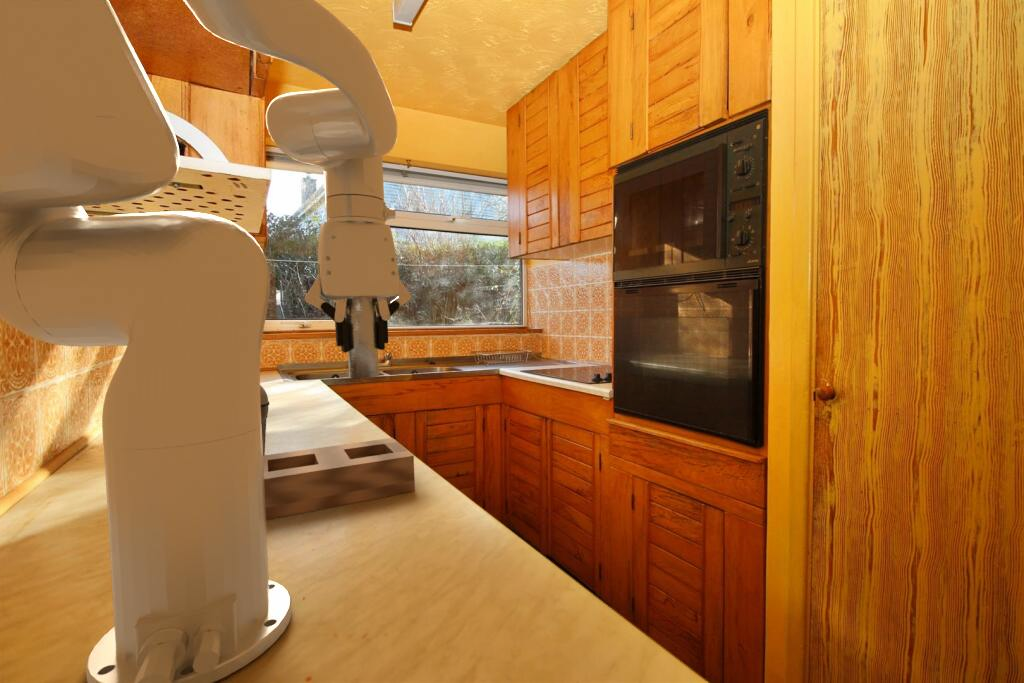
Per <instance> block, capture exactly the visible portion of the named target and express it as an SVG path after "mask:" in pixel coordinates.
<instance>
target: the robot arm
mask: <svg viewBox="0 0 1024 683" xmlns="http://www.w3.org/2000/svg"><path fill="white" fill-rule="evenodd" d="M110 2H111V1H109V0H0V318H1V319H2V320H3V321H4V322H6V323H7V324H8V325H10V326H12V327H13V328H14V329H16V330H17V331H19V332H21V333H22V334H24V335H26V336H28V337H31V338H33V339H35V340H38V341H41V342H44V343H47V344H53V345H57V346H64V347H65V346H67V347H78V348H79V347H85V348H86V347H126V349H125V351H124V353H123V355H122V357H121V360H120V361H119V364H118V365H117V367H116V369H115V371H114V373H113V376H112V377H111V379H110V382H109V384H108V388H107V390H106V393H105V397H104V402H103V407H102V415H101V416H102V417H101V418H102V419H101V420H102V423H101V424H102V442H103V443H102V445H103V453H104V454H103V455H104V471H105V486H106V501H107V502H106V507H107V520H108V522H107V523H108V536H109V537H108V540H109V556H110V558H109V559H110V572H111V587H112V588H111V589H112V605H113V607H112V608H113V620H114V621H113V622H114V627H112V628H111V629H110V630H109V631H107V632H106V633H105V634H104V635H103V636H102V637H101V638H100V639H99V641H97V643H95V645H94V646H93V647H92V650H91V651H90V653H89V655H88V656H87V658H86V664H85V675H86V682H87V683H216V682H218V681H219V680H222V679H224V678H227V677H228V676H230V675H231V674H233V673H235V672H237V671H239V670H240V669H242V668H243V667H245V666H247V665H248V664H250V663H251V662H253V661H254V660H256V659H257V658H259V657H260V656H262V654H263V653H265V651H267V650H268V649H270V648H271V646H273V645H274V644H275V642H277V640H278V639H279V638H280V637H281V635H283V633H284V632H285V630H286V628H287V627H288V625H289V623H290V621H291V616H292V614H293V613H292V598H291V594H290V592H289V591H288V589H287V588H286V587H285V586H283V585H281V584H280V583H278V582H276V581H274V580H273V581H272V580H270V579H269V575H270V574H269V558H268V537H267V536H268V534H267V520H266V509H265V487H264V465H263V443H262V424H261V405H260V385H261V357H262V355H261V354H262V344H263V343H262V342H263V338H264V329H265V323H266V318H267V312H268V306H269V300H270V292H271V278H270V277H271V276H270V275H271V274H270V269H269V264H268V260H267V257H266V256H265V253H264V250H263V249H262V247H261V246H260V244H259V243H258V242H257V240H256V239H255V238H254V237H253V236H252V235H251V234H250V233H249V232H248V231H247V230H245V229H244V228H243V227H241V226H240V225H238V224H236V223H234V222H233V221H231V220H228V219H226V218H223V217H219V216H218V215H213V214H209V213H202V212H194V211H181V210H180V211H178V210H175V211H174V210H173V211H159V212H158V211H156V212H139V213H138V212H135V213H121V214H120V213H119V214H111V215H101V216H99V215H97V216H89V215H88V214H87V212H86V211H85V209H84V208H83V207H86V206H96V205H107V204H116V203H124V202H126V203H127V202H131V201H135V200H136V201H137V200H140V199H141V200H142V199H144V198H147V197H151V196H152V195H154V194H157V193H159V192H162V191H163V190H164V189H165V188H167V187H168V186H169V185H170V184H171V183H172V182H173V181H174V179H176V176H177V174H178V171H179V167H180V163H181V162H180V161H181V160H180V159H181V157H180V148H179V143H178V141H177V140H178V139H177V137H176V134H175V130H174V129H173V126H172V124H171V121H170V119H169V117H168V115H167V112H166V110H165V108H164V107H163V104H162V103H161V100H160V98H159V96H158V94H157V92H156V90H155V88H154V87H153V84H152V82H151V81H150V79H149V77H148V74H147V73H146V71H145V69H144V67H143V65H142V63H141V61H140V59H139V57H138V55H137V54H136V52H135V49H134V47H133V45H132V43H131V41H130V40H129V37H128V36H127V33H126V31H125V30H124V28H123V26H122V24H121V21H120V20H119V18H118V16H117V14H116V12H115V10H114V8H113V6H112V5H111V3H110ZM183 2H184V3H185V5H187V7H188V8H189V9H190V11H191V12H192V14H193V15H194V16H195V18H196V19H197V20H198V22H199V24H201V26H203V28H204V29H206V30H207V31H208V32H210V33H211V34H212V35H214V36H215V37H218V38H219V39H222V40H224V41H226V42H229V43H231V44H233V45H236V46H238V47H242V48H245V49H247V50H250V51H253V52H256V53H259V54H262V55H265V56H268V57H272V58H274V59H279V60H282V61H285V62H287V63H289V64H290V63H291V64H294V65H296V66H298V67H299V66H300V67H302V68H304V69H307V70H308V71H311V72H312V73H315V74H316V75H319V76H320V77H322V78H323V79H325V80H326V81H328V82H329V83H331V84H332V85H333V86H335V87H336V88H325V89H317V90H308V91H296V92H295V91H294V92H288V93H285V94H281V95H278V96H276V97H275V98H274V99H272V100H271V101H270V103H269V105H268V106H267V109H266V113H265V123H266V129H267V132H268V134H269V136H270V138H271V140H272V141H273V143H274V144H275V146H276V147H277V148H278V149H279V150H280V151H281V152H282V153H283V154H284V155H286V156H288V157H289V158H291V159H292V160H294V161H298V162H300V163H304V164H309V165H312V166H315V167H321V168H322V169H323V178H324V182H323V183H324V194H325V195H324V197H325V198H324V200H325V214H326V221H325V222H323V223H321V224H320V226H319V233H318V244H317V246H318V247H317V278H316V279H315V281H314V283H313V284H312V286H311V287H310V289H309V291H308V292H307V293H306V295H305V297H304V301H305V302H306V303H308V304H310V305H311V306H314V308H317V309H318V310H321V312H323V313H324V314H325V315H326V316H327V317H329V318H330V319H331V320H332V322H334V325H335V326H334V327H335V328H334V329H335V344H336V346H337V347H340V350H341V352H342V353H348V351H350V342H349V324H348V323H347V322H346V311H345V309H346V302H347V299H352V298H354V297H357V296H362V295H363V296H369V297H371V298H376V317H377V337H378V351H379V350H380V351H384V350H385V348H386V346H385V344H388V343H389V330H388V329H389V326H388V325H389V324H388V322H389V320H390V319H391V317H392V316H393V315H394V314H395V313H396V312H397V311H398V310H399V308H400V307H402V306H403V305H405V304H406V303H407V302H409V301H411V299H412V294H411V293H410V292H409V290H408V289H407V288H406V286H405V284H404V283H403V281H402V280H401V279H400V277H399V267H398V259H397V254H396V246H395V242H394V241H395V240H394V237H393V231H392V229H391V226H390V225H389V224H386V222H387V221H388V220H390V219H392V220H394V219H396V210H395V208H390V207H387V205H386V201H385V190H384V189H385V188H384V186H385V185H384V171H383V170H384V168H383V156H385V155H388V154H389V153H390V152H391V151H392V150H393V149H394V147H395V145H396V143H397V139H398V131H399V130H398V129H399V128H398V121H397V115H396V113H395V108H394V106H393V103H392V100H391V97H390V94H389V92H388V89H387V87H386V85H385V82H384V80H383V78H382V76H381V73H380V71H379V68H378V66H377V64H376V62H375V60H374V58H373V56H372V54H371V53H370V52H369V50H368V48H367V47H366V45H364V42H362V41H361V39H359V37H358V36H356V34H355V33H354V32H353V31H352V30H351V29H349V28H348V26H346V25H345V24H344V23H343V22H342V21H341V20H340V19H338V17H336V16H335V15H334V14H333V12H330V11H329V10H328V9H327V8H325V7H324V6H323V5H321V4H320V3H319V2H318V1H316V0H183ZM396 295H397V296H396ZM394 296H396V298H394V299H393V300H391V301H390V302H388V301H387V298H388V299H389V298H392V297H394ZM321 297H323V298H325V299H329V300H334V302H333V305H332V304H331V303H329V302H327V301H325V300H324V299H323V298H321Z"/></svg>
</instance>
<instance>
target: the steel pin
mask: <svg viewBox="0 0 1024 683" xmlns="http://www.w3.org/2000/svg"><path fill="white" fill-rule="evenodd" d="M376 316H377V313H376V298H371V297H369V296H363V295H362V296H357V297H354V298H352V299H347V302H346V309H345V318H346V322H347V323H348V324H349V342H350V351H348V352H347V362H348V363H347V364H348V365H347V366H348V377H349V379H354V380H355V379H370V378H377V377H379V376H380V365H379V364H380V361H379V349H378V337H377V317H376Z"/></svg>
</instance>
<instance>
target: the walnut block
mask: <svg viewBox="0 0 1024 683" xmlns="http://www.w3.org/2000/svg"><path fill="white" fill-rule="evenodd" d="M263 465H264V487H265V509H266V521H268V520H272V519H278V518H283V517H287V516H293V515H298V514H304V513H309V512H314V511H318V510H325V509H329V508H334V507H339V506H344V505H351V504H354V503H362V502H364V501H370V500H375V499H376V500H377V499H381V498H386V497H391V496H396V495H402V494H406V493H412V492H415V491H416V485H415V482H416V481H415V458H414V455H413V453H411V452H410V451H409V450H407V449H406V447H404V446H403V445H402V444H401V443H399V441H397V440H396V439H394V438H393V437H389V438H383V439H382V438H381V439H375V440H367V441H360V442H353V443H346V444H345V443H344V444H338V445H330V446H323V447H316V448H309V449H308V448H307V449H301V450H295V451H286V452H281V453H279V452H278V453H272V454H267V455H266V454H265V455H264V456H263Z"/></svg>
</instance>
